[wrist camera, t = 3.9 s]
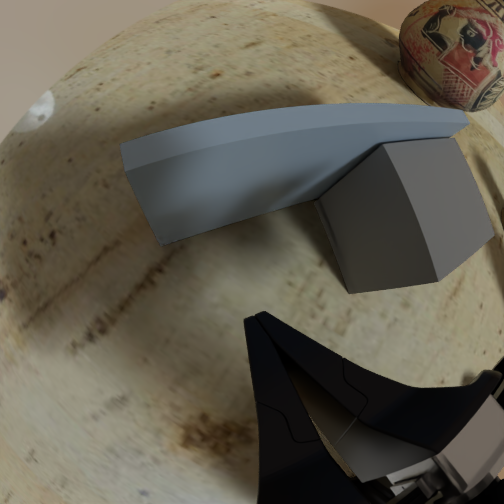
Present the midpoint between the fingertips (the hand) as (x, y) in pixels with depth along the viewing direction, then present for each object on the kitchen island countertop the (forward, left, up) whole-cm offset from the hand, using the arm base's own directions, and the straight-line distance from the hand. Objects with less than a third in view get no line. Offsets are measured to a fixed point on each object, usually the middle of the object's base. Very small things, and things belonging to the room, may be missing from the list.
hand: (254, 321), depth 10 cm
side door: (+9, -3, -7) cm, 12 cm away
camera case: (+8, -10, -7) cm, 15 cm away
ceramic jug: (+32, -22, -8) cm, 39 cm away
